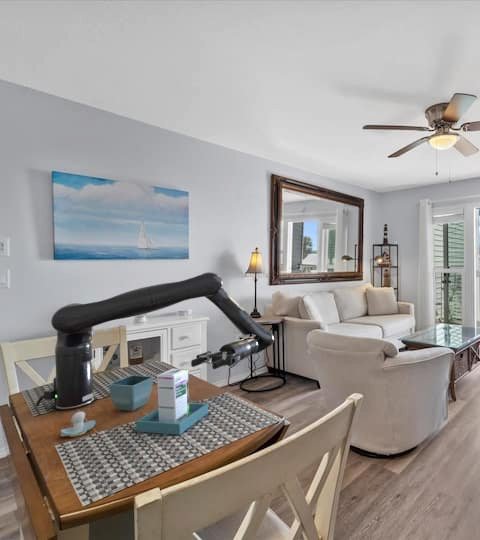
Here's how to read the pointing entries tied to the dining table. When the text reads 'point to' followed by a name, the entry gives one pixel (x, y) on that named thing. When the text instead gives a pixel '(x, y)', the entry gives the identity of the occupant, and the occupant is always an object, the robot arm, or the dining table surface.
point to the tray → (154, 426)
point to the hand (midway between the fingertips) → (202, 364)
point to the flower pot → (131, 392)
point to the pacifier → (78, 425)
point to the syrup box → (173, 395)
